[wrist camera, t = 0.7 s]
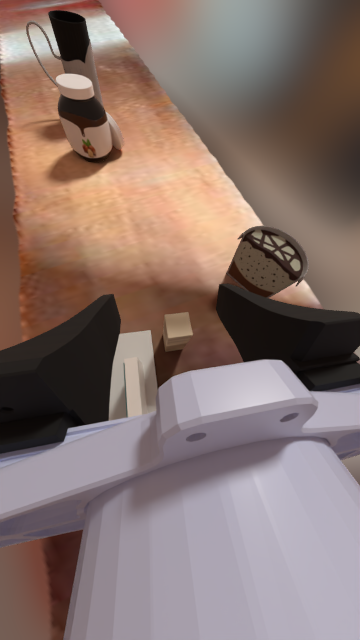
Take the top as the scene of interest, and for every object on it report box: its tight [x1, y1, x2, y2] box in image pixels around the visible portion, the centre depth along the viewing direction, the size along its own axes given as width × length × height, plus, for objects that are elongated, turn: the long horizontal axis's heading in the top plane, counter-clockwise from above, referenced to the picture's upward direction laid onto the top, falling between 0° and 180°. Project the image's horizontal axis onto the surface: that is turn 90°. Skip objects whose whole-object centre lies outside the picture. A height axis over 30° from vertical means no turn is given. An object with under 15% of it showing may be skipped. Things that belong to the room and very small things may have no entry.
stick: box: [163, 312, 193, 352], centre depth 24 cm, size 3×3×9 cm
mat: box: [109, 330, 158, 421], centre depth 24 cm, size 17×13×1 cm
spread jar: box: [56, 74, 124, 162], centre depth 40 cm, size 12×11×12 cm
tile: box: [123, 357, 148, 417], centre depth 21 cm, size 8×2×8 cm, turn 11°
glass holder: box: [26, 10, 103, 106], centre depth 43 cm, size 9×14×15 cm, turn 99°
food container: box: [226, 226, 308, 298], centre depth 31 cm, size 12×6×10 cm, turn 45°
